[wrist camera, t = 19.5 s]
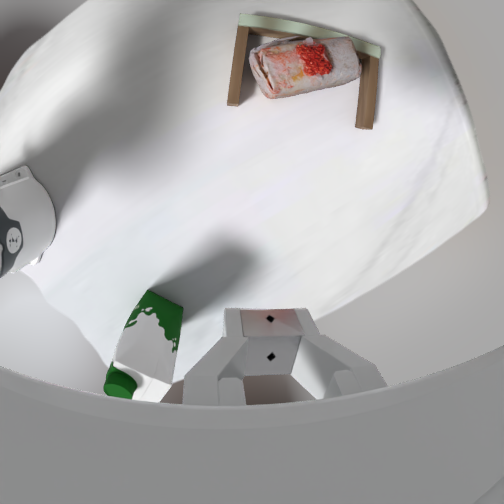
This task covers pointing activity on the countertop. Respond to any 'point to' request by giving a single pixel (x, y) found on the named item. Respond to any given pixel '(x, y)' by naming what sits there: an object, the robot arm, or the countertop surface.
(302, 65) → the food item
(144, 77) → the countertop surface
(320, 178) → the countertop surface
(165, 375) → the milk carton
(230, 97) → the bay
